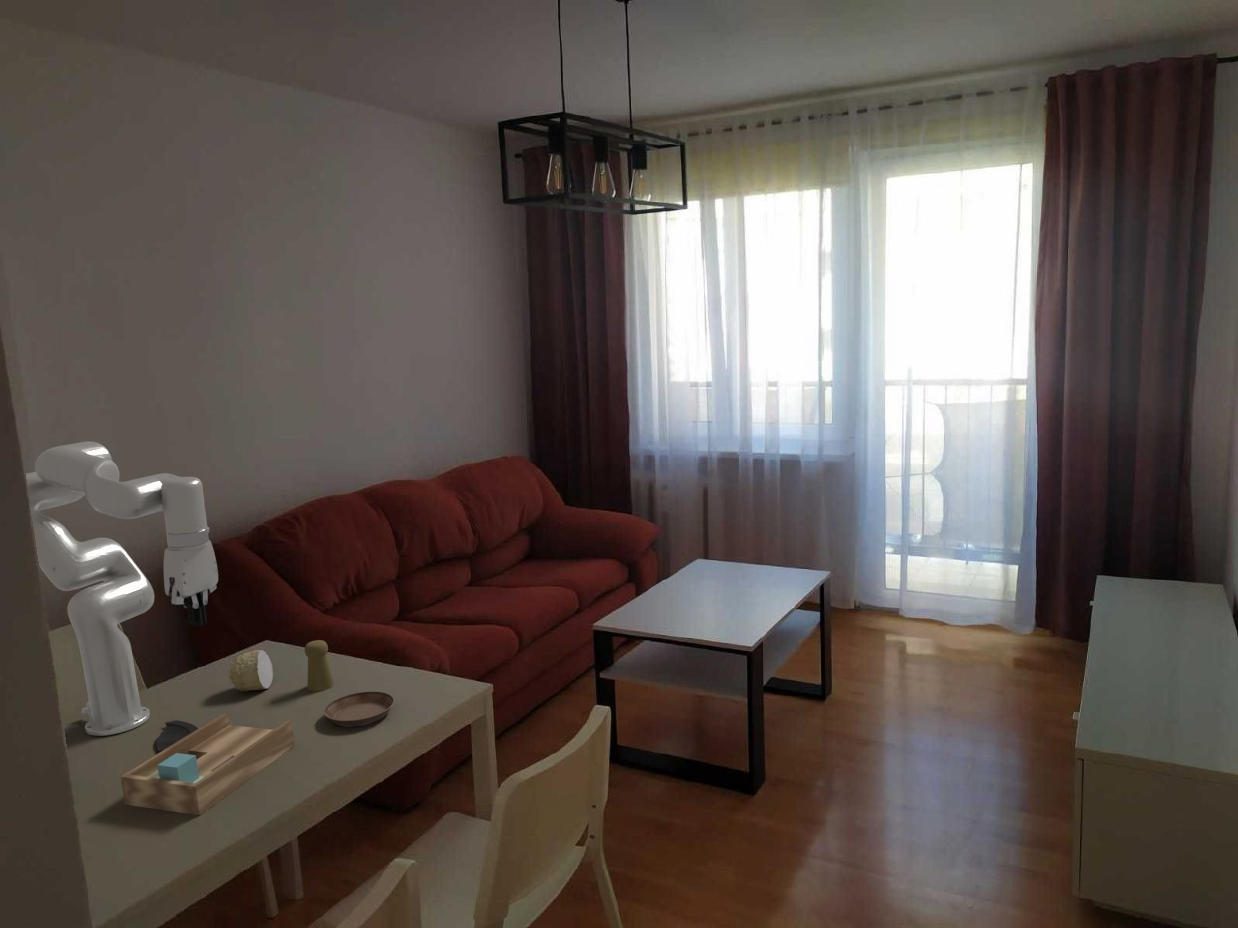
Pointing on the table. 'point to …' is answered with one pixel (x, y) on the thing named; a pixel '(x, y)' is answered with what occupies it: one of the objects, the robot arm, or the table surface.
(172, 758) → the teal block
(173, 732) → the fan shaped piece
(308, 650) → the cork
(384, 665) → the table surface
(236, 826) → the table surface
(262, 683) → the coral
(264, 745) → the box
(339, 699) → the saucer
